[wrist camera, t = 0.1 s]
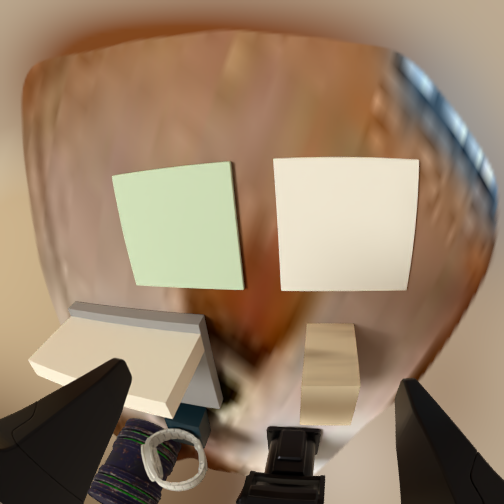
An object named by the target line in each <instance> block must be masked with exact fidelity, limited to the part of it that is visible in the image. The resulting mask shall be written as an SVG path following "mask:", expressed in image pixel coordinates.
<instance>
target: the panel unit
mask: <svg viewBox="0 0 504 504" xmlns="http://www.w3.org/2000/svg"><path fill="white" fill-rule="evenodd" d="M68 310H69V312H70V314H71V317H70V318H69V319H68V320H67V321H66V322H65V323H64V324H63V325H61V326H60V327H59V328H58V329H57V330H56V331H55V332H54V333H53V334H52V335H51V337H49V339H48V340H47V341H46V342H45V343H44V344H43V345H42V346H41V347H40V348H39V349H38V350H37V351H36V352H35V353H34V354H33V355H32V356H31V357H30V358H29V359H28V361H29V362H30V364H31V366H32V367H33V369H34V371H35V372H36V374H37V375H39V376H41V377H44V378H46V379H48V380H51V381H53V382H56V383H58V384H60V385H63V386H65V385H67V384H69V383H70V382H72V381H74V380H76V379H77V378H79V377H81V376H83V375H84V374H86V373H88V372H90V371H91V370H93V369H95V368H97V367H98V366H100V365H102V364H103V363H105V362H107V361H109V360H110V359H112V358H119V359H123V360H124V361H125V362H126V364H127V366H128V368H129V370H130V372H131V375H132V383H131V386H130V389H129V392H128V395H127V398H126V401H125V404H124V407H127V408H131V409H134V410H138V411H142V412H146V413H149V414H153V415H158V416H162V417H166V418H170V419H173V418H174V415H175V413H176V411H177V409H178V407H179V405H180V403H186V404H192V405H198V406H204V407H211V408H217V409H220V407H221V404H222V401H223V396H222V392H221V388H220V384H219V380H218V375H217V371H216V367H215V363H214V358H213V354H212V350H211V345H210V341H209V336H208V331H207V327H206V322H205V317H204V315H199V314H185V313H173V312H162V311H151V310H141V309H131V308H122V307H114V306H105V305H98V304H90V303H82V302H75V303H74V304H72V305H71V306H70V307H69V308H68Z"/></svg>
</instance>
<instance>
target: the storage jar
mask: <svg viewBox="0 0 504 504" xmlns="http://www.w3.org/2000/svg"><path fill="white" fill-rule="evenodd" d="M161 430H165V429H163V428H162V427H160V426H158V425H156V424H154V423H151V422H149V421H146V420H142V419H137V418H132V419H129V420H127V422H126V424H125V427H124V428H123V429H122V431H121V432H120V433H119V434H118V436H117V439H116V441H115V442H114V444H113V450H112V451H111V453H110V455H109V457H108V458H107V460H106V462H105V464H104V465H102V466H101V467H100V468H99V471H98V473H97V474H96V475H95V477H94V479H93V480H94V481H93V482H92V484H91V488H89V491H88V494H89V495H90V496H91V497H92V498H94V499H95V500H97V501H99V502H100V503H102V504H158V502H159V500H160V499H161V498H160V497H161V490H162V488H163V487H161V486H160V485H159V484H158V483H157V482H156V481H153V482H152V481H151V480H150V479H149V477H148V475H147V473H146V470H145V467H144V464H143V459H142V454H141V446H142V444H145V442H146V440H147V438H149V437H150V436H152V435H153V434H154V433H156V432H160V431H161ZM156 448H157V452H158V455H159V458H160V461H161V465H162V469H163V479H162V480H163V481H166V479H167V476H169V475H170V474H171V472H172V471H173V467H174V465H175V463H176V461H177V459H176V458H177V456H178V452H179V451H180V449H181V444H180V442H176V441H173V439H171V438H170V440H167V441H164V442H162V443H161V444H158V446H157V447H156Z"/></svg>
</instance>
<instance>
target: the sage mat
mask: <svg viewBox="0 0 504 504" xmlns="http://www.w3.org/2000/svg"><path fill="white" fill-rule="evenodd" d="M112 180H113V186H114V191H115V196H116V201H117V206H118V211H119V216H120V221H121V225H122V230H123V234H124V238H125V243H126V247H127V251H128V255H129V259H130V263H131V266H132V270H133V274H134V277H135V281H136V285H142V286H160V287H180V288H203V289H232V290H244V278H243V269H242V260H241V251H240V242H239V233H238V224H237V215H236V205H235V196H234V186H233V176H232V167H231V161H226V162H214V163H203V164H194V165H184V166H176V167H168V168H160V169H152V170H145V171H138V172H132V173H125V174H119V175H114V176H112Z"/></svg>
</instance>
